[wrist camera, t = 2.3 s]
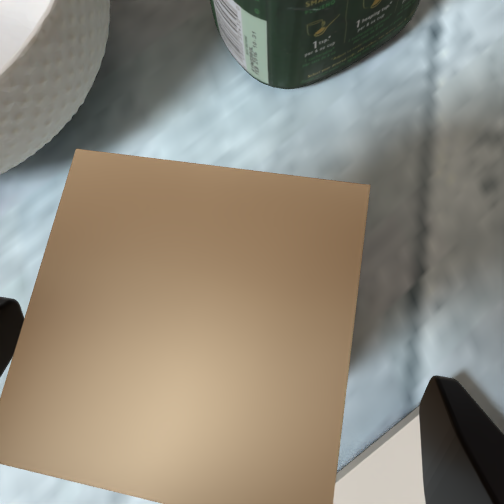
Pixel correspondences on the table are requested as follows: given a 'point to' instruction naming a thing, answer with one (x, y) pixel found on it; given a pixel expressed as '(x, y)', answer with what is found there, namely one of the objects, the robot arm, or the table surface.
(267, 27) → the coffee jar
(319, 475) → the beech block
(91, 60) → the cereal bowl
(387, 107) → the table surface
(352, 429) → the table surface
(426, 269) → the table surface
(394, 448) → the plate
